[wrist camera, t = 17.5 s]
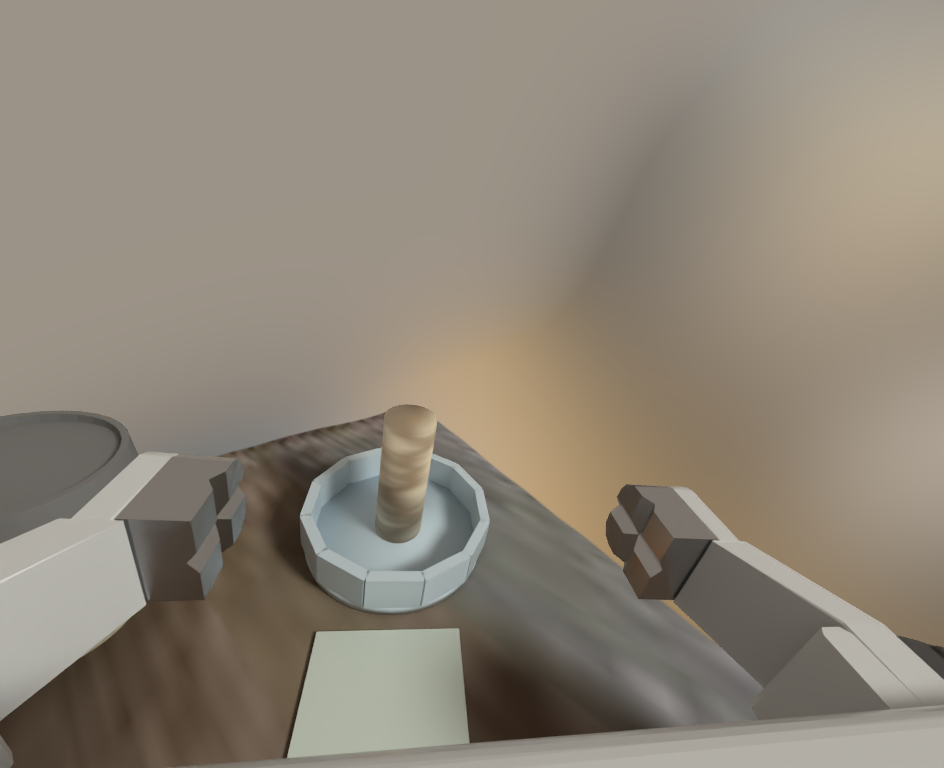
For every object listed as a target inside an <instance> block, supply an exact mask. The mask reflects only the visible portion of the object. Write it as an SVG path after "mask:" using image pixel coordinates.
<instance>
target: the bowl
mask: <svg viewBox="0 0 944 768" xmlns="http://www.w3.org/2000/svg"><path fill="white" fill-rule="evenodd" d="M381 450H382V448H378V449H374V450H370V451H366V452H362V453H358V454H355V455H351V456H347V457H345V458H342V459H341V460H340V461H338V462H337V463H336V464H334V465H333V466H332V467H330V468H329V469H328V470H326V471H325V472H324V473H322V474H321V475H320V476H318V477H317V478H316V479H314V480H313V481H312V484H311V487H310V489H309V492H308V495H307V497H306V500H305V503H304V505H303V508H302V511H301V513H300V540H301V545H302V547H303V550H304V552H305V559H306V563H307V566H308V569H309V571H310V573H311V575H312V577H313V578H314V580H315V581H316V582H317V584H318V585H319V586H320V587H321V588H322V589H323V590H324V591H325V592H326V593H327V594H328V595H329V596H331V597H332V598H334V599H335V600H337V601H338V602H340V603H342V604H344V605H346V606H348V607H350V608H353V609H356V610H359V611H362V612H367V613H373V614H381V615H397V614H407V613H412V612H416V611H420V610H423V609H426V608H429V607H432V606H434V605H436V604H438V603H440V602H442V601H443V600H445V599H446V598H448V597H449V596H451V595H452V594H454V593H455V592H456V591H457V590H458V589H459V588H460V587H461V586H462V585H463V584H464V583H465V581H466V580H467V579H468V578H469V576H470V574H471V573H472V571H473V569H474V567H475V564H476V562H477V559H478V556H479V554H480V552H481V550H482V548H483V546H484V542H485V539H486V535H487V531H488V527H489V523H490V520H489V515H488V511H487V506H486V501H485V497H484V492H483V489H482V488H481V487H480V486H479V485H478V484H477V483H476V482H475V481H474V480H473V479H472V478H471V476H470V475H469V474H468V473H467V472H466V471H465V470H464V469H463V468H462V467H461V466H460V465H459V464H458V465H457V463H454V462H452V461H450V460H447V459H445V458H442V457H440V456H437V455H435V454H432V458H431V464H430V470H429V477H428V483H427V489H426V496H425V502H424V509H423V515H422V521H421V528H420V531H419V533H418V535H417V536H416V537H415V538H414V539H412V540H410V541H408V542H405V543H390V542H387V541H385V540H383V539H382V538H380V537H379V536H378V534H377V532H376V530H375V519H376V508H377V496H378V485H379V473H380V462H381Z"/></svg>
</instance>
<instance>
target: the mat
mask: <svg viewBox="0 0 944 768" xmlns="http://www.w3.org/2000/svg"><path fill="white" fill-rule="evenodd" d="M467 743H469V734H468V723H467V712H466V701H465V690H464V679H463V668H462V658H461V647H460V636H459V628H455V629H411V630H368V631H324V632H316V637H315V641H314V645H313V649H312V654H311V658H310V662H309V666H308V671H307V675H306V679H305V683H304V688H303V692H302V696H301V700H300V705H299V709H298V713H297V717H296V722H295V726H294V730H293V734H292V739H291V743H290V747H289V751H288V756H287V758H293V757H306V756H318V755H330V754H343V753H355V752H367V751H380V750H392V749H404V748H417V747H429V746H442V745H454V744H467Z"/></svg>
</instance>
